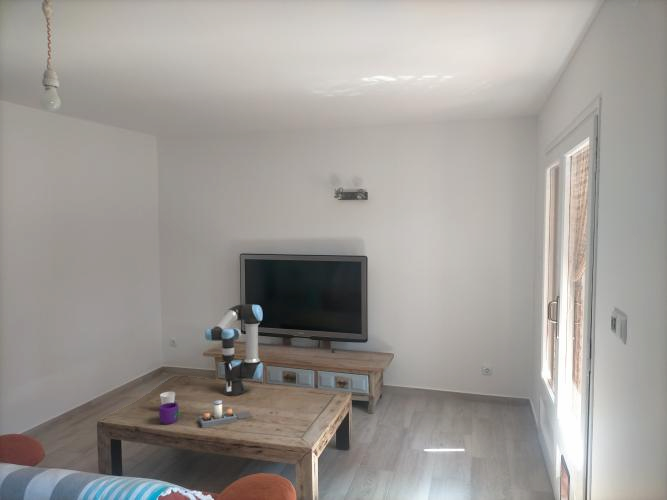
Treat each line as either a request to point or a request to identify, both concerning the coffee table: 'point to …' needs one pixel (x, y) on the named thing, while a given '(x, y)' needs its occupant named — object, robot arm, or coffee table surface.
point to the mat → (243, 415)
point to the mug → (168, 413)
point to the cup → (167, 397)
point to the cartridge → (217, 409)
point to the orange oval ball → (229, 412)
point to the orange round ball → (206, 416)
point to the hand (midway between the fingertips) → (228, 390)
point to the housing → (218, 420)
